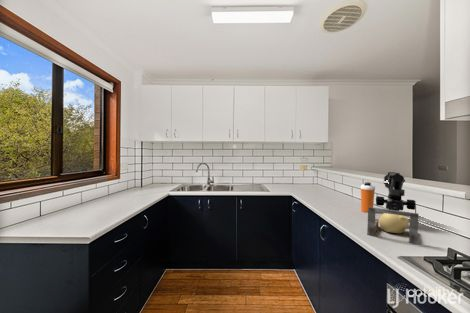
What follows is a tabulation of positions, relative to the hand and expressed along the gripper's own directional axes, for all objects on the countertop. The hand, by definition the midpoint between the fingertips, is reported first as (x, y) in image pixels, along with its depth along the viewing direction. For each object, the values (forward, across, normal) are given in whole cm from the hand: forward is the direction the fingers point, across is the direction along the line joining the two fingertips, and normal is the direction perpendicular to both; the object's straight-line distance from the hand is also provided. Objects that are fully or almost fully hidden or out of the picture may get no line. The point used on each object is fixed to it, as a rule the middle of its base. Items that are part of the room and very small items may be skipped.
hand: (394, 215), depth 136 cm
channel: (+14, 0, -5) cm, 15 cm away
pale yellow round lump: (+12, 0, -2) cm, 12 cm away
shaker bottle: (-17, -17, +27) cm, 36 cm away
